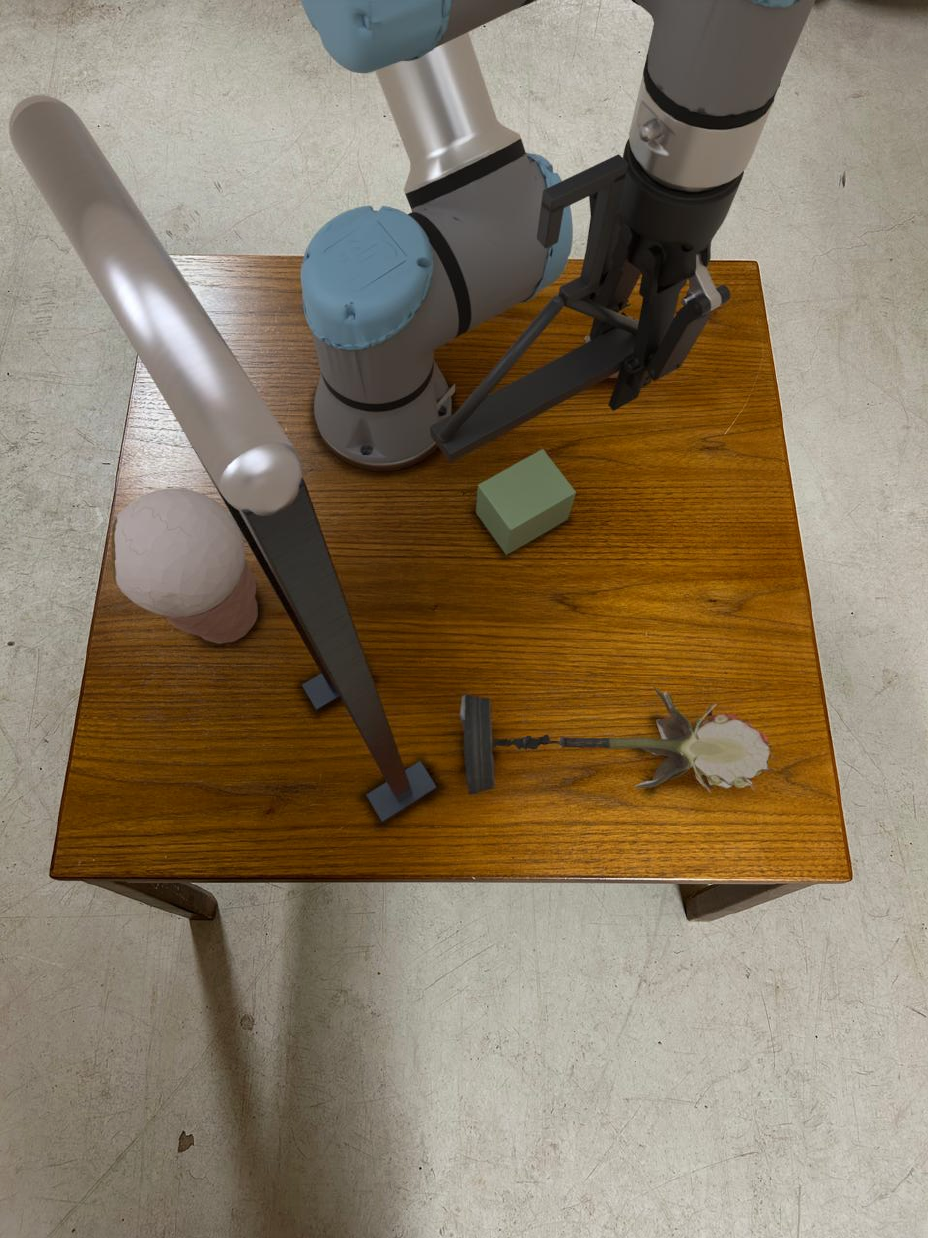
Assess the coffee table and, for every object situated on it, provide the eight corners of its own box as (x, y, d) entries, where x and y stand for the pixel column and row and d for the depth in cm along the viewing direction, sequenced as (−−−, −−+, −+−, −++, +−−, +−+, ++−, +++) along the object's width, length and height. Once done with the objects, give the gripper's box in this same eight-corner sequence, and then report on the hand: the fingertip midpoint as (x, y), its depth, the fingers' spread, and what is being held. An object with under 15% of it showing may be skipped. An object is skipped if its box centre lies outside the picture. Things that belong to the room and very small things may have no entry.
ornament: (742, 695, 77) (777, 671, 69) (756, 796, 74) (794, 783, 66) (460, 697, 77) (462, 674, 69) (462, 799, 74) (463, 787, 65)
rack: (303, 687, 77) (-98, 110, 20) (356, 656, 78) (114, 30, 22) (382, 823, 73) (153, 568, 16) (437, 788, 74) (400, 437, 17)
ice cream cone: (158, 585, 80) (70, 489, 62) (260, 550, 82) (204, 446, 63) (186, 678, 77) (101, 608, 58) (291, 640, 79) (242, 560, 60)
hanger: (448, 464, 61) (449, 267, 42) (428, 436, 62) (420, 230, 43) (653, 352, 65) (740, 126, 46) (631, 327, 66) (708, 94, 47)
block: (475, 512, 84) (477, 484, 78) (536, 477, 85) (542, 448, 80) (506, 555, 82) (510, 530, 77) (567, 519, 84) (576, 492, 78)
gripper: (562, 92, 49) (526, 341, 71) (721, 264, 45) (630, 472, 67) (656, 50, 51) (592, 306, 73) (819, 212, 46) (698, 433, 68)
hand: (610, 385), depth 70 cm, fingers closed on hanger, 3 cm apart
